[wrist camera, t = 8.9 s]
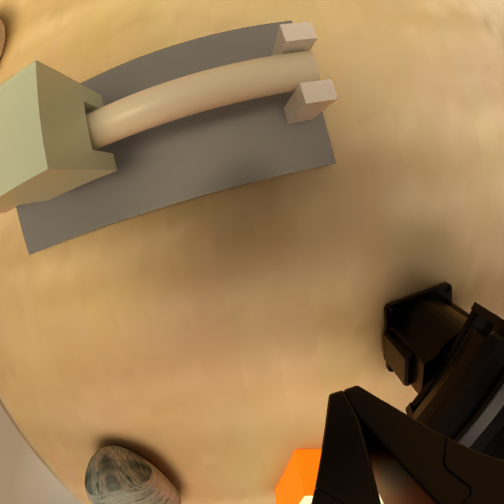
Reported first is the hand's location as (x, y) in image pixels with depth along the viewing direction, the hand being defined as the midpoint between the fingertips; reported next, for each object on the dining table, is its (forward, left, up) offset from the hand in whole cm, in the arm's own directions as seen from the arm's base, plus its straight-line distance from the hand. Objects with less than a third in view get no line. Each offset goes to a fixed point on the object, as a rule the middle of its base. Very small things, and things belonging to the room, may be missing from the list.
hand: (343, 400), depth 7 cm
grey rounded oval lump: (+20, +20, -13) cm, 31 cm away
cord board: (+6, -11, -13) cm, 18 cm away
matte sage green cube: (+10, -11, -9) cm, 17 cm away
